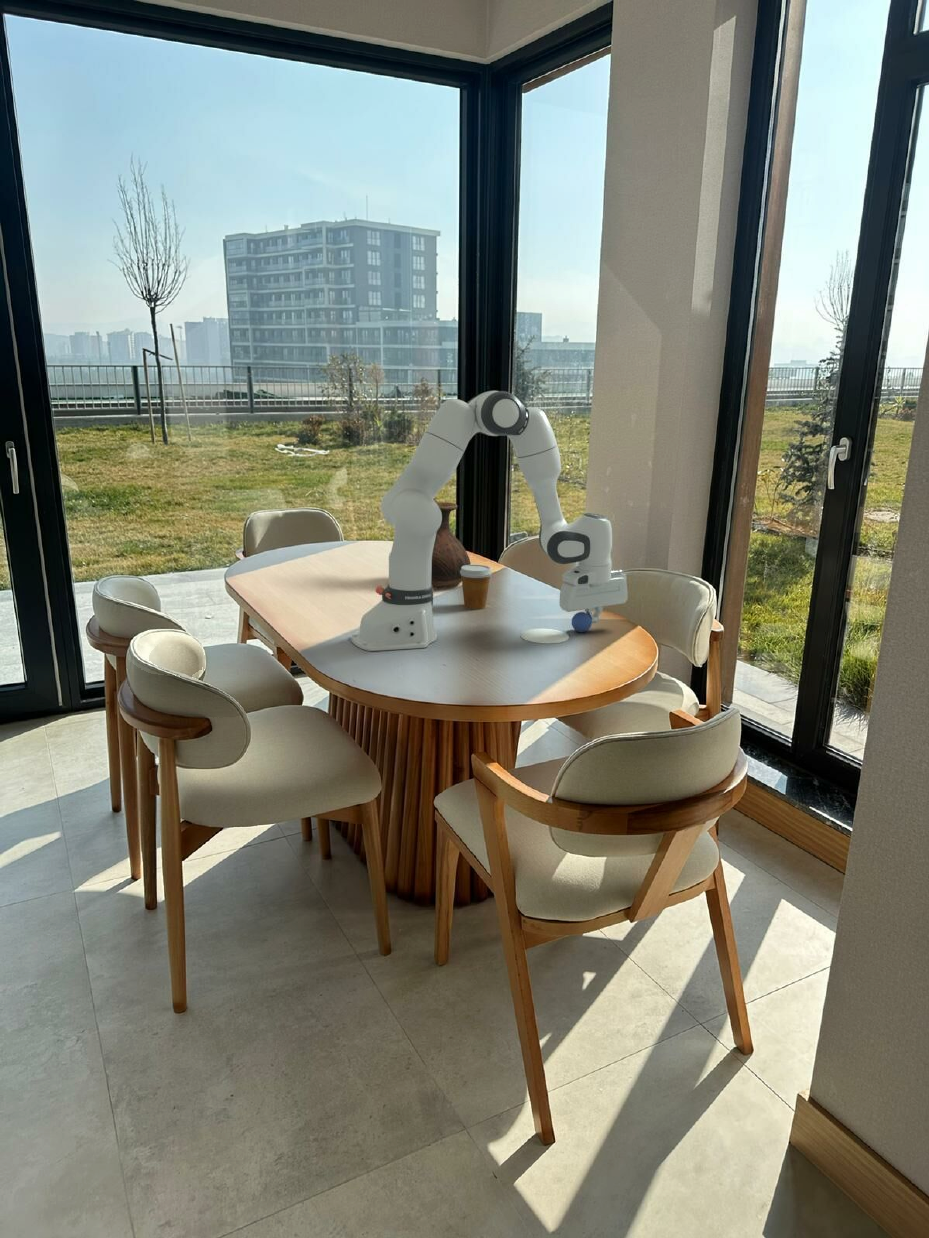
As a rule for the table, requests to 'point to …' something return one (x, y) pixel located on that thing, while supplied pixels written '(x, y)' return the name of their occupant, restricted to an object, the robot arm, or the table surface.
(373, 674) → the table surface
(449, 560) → the jug
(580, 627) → the ball
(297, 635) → the table surface
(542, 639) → the disc
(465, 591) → the disposable coffee cup
